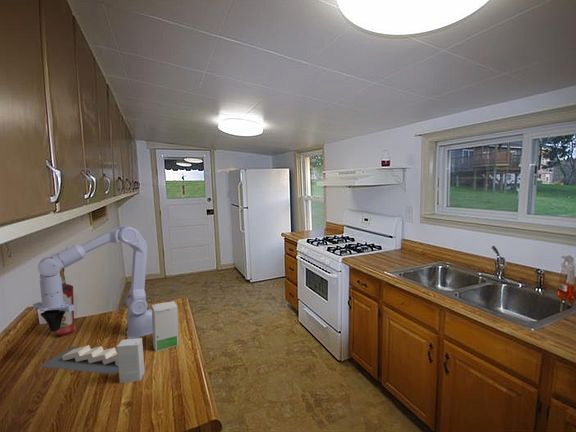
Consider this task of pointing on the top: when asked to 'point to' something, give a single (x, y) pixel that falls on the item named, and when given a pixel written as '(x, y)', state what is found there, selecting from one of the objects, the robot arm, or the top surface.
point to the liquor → (68, 317)
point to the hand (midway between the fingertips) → (55, 330)
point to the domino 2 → (89, 354)
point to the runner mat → (81, 364)
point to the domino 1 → (76, 352)
